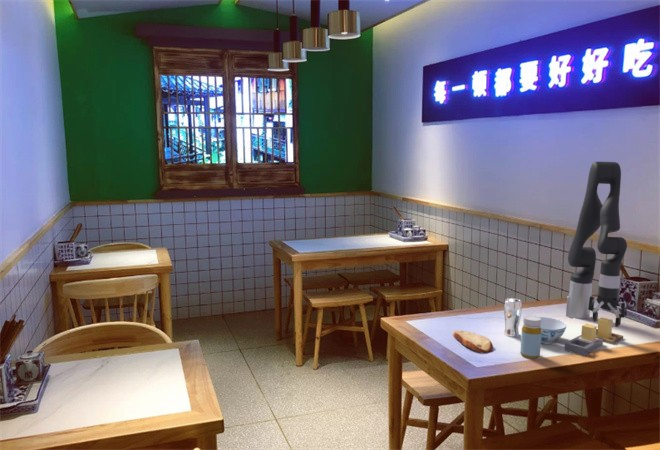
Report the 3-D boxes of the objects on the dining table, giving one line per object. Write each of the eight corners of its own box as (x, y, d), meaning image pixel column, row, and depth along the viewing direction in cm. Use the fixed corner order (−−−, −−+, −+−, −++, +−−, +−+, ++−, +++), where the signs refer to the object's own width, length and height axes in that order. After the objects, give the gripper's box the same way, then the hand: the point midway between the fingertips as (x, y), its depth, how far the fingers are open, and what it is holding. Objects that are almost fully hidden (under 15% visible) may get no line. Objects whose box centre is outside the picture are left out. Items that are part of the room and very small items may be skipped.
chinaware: (547, 350, 211) (548, 331, 210) (517, 337, 224) (518, 320, 223) (573, 343, 218) (574, 325, 216) (543, 332, 231) (544, 314, 230)
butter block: (597, 337, 222) (598, 318, 221) (601, 335, 225) (602, 316, 224) (607, 340, 219) (608, 321, 218) (611, 337, 222) (612, 319, 221)
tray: (585, 338, 223) (585, 334, 223) (595, 333, 230) (596, 328, 229) (612, 346, 215) (613, 341, 215) (623, 340, 221) (623, 335, 221)
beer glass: (520, 332, 230) (522, 299, 227) (519, 338, 223) (521, 303, 221) (503, 330, 233) (505, 297, 230) (501, 335, 226) (503, 301, 224)
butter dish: (564, 350, 211) (566, 329, 210) (582, 340, 221) (583, 321, 219) (585, 356, 205) (586, 335, 204) (602, 346, 215) (604, 326, 213)
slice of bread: (454, 333, 230) (455, 324, 230) (498, 340, 222) (498, 331, 222) (443, 347, 214) (443, 338, 214) (489, 355, 206) (490, 346, 206)
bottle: (517, 352, 209) (519, 315, 206) (534, 351, 209) (536, 314, 207) (525, 359, 202) (527, 321, 200) (543, 358, 202) (545, 320, 200)
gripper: (587, 283, 221) (584, 321, 224) (623, 290, 211) (620, 330, 213) (595, 280, 226) (592, 317, 228) (631, 287, 216) (628, 326, 218)
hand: (606, 323), depth 221 cm, fingers open, 8 cm apart
